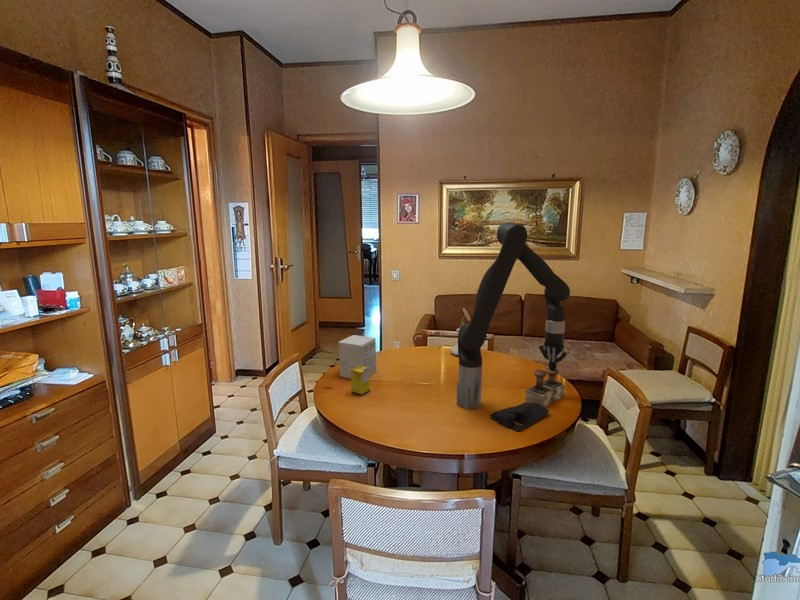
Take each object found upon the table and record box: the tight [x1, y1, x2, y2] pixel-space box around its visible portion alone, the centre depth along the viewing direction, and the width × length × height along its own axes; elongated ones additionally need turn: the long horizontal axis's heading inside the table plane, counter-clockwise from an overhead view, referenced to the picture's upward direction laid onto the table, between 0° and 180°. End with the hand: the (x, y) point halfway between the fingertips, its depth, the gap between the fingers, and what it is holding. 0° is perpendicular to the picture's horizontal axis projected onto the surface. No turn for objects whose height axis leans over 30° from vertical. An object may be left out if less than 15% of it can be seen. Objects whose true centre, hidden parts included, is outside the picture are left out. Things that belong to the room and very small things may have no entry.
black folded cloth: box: [489, 401, 550, 432], centre depth 166 cm, size 15×22×5 cm
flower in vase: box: [449, 307, 471, 356], centre depth 235 cm, size 13×11×25 cm
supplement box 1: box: [338, 334, 377, 379], centre depth 209 cm, size 13×13×18 cm
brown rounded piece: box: [533, 369, 547, 388], centre depth 176 cm, size 5×5×6 cm
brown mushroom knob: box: [545, 367, 559, 385], centre depth 182 cm, size 5×5×6 cm
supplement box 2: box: [350, 366, 371, 397], centre depth 189 cm, size 6×6×11 cm
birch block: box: [524, 379, 566, 408], centre depth 180 cm, size 16×8×6 cm, turn 130°
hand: (552, 370), depth 181 cm, fingers closed
